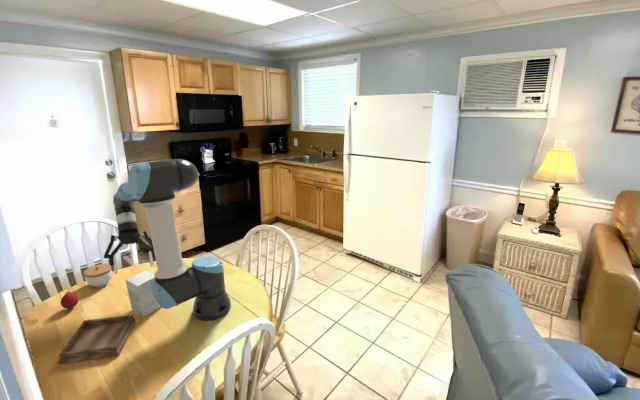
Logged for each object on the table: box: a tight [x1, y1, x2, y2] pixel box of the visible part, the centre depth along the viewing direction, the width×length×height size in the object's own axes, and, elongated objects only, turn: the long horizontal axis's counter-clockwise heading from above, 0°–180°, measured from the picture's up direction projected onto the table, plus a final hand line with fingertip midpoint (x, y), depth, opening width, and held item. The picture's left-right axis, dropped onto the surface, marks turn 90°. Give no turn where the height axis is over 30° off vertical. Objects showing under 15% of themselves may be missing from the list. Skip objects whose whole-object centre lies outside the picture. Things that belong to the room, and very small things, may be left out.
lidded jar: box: [83, 263, 113, 288], centre depth 147 cm, size 11×11×9 cm
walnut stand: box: [57, 314, 137, 365], centre depth 114 cm, size 18×18×4 cm
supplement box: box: [125, 270, 162, 318], centre depth 130 cm, size 9×9×15 cm
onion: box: [60, 291, 79, 310], centre depth 130 cm, size 6×6×8 cm
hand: (134, 269), depth 133 cm, fingers open, 13 cm apart
